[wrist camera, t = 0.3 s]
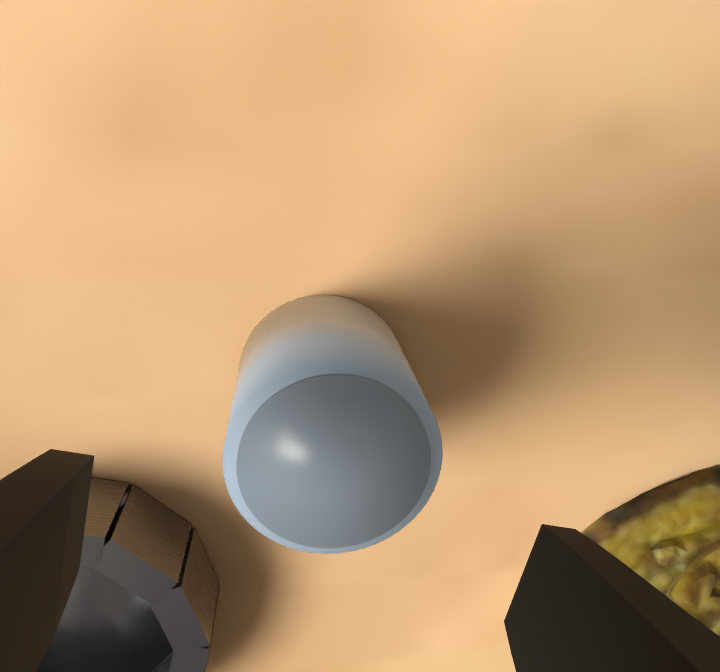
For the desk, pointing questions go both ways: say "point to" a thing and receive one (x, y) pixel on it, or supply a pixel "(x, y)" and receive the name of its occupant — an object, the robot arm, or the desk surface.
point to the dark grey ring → (136, 590)
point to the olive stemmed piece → (672, 541)
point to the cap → (328, 429)
